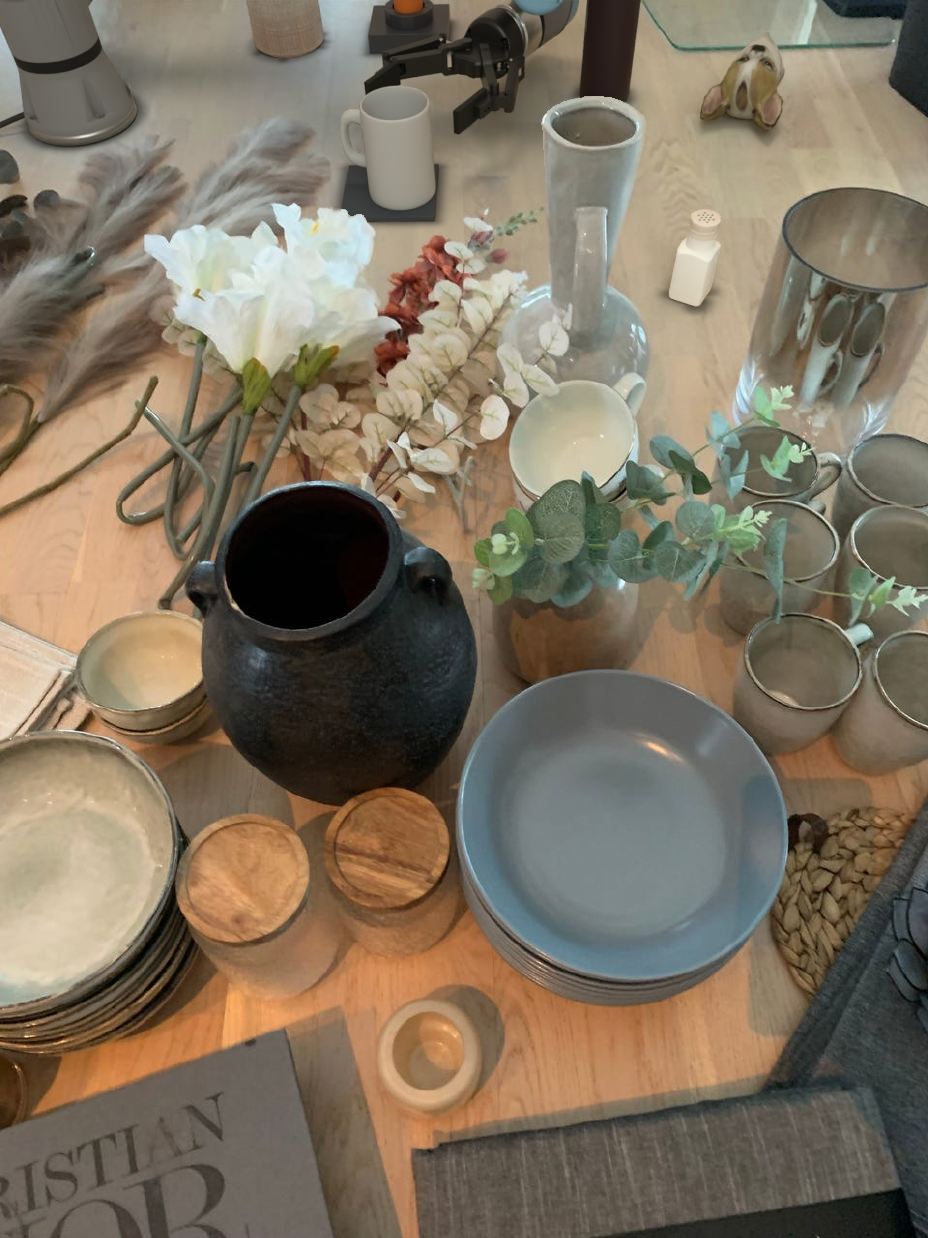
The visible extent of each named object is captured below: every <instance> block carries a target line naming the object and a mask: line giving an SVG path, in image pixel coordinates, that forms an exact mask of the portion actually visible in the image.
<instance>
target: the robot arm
mask: <svg viewBox="0 0 928 1238" xmlns="http://www.w3.org/2000/svg"><path fill="white" fill-rule="evenodd" d="M93 1H94V0H0V31H1V33H2V35H3V37H4V40H5V43H6V45H7V47H8V49H9V51H10V54H11V56H12V59H13V60H14V63H15V66H16V67H17V70H18V77H19V85H20V94H21V102H22V109H23V111H22V112H20V113H17V114H15V115H12V116H10V117H7V118H6V119H3V120H1V121H0V129H3V128H5V127H7V126H9V125H12V124H14V123H16V122H18V121H21V120H24V119H25V122H26V125H27V128H28V129H29V131H30V133H31V135H32V136H33V137H34V138H35V139H37V140H38V141H40V142H42V143H45V144H49V145H53V146H60V147H61V146H62V147H74V146H76V147H77V146H85V145H89V144H93V143H98V142H102V141H104V140H107V139H109V138H112V137H113V136H116V135H119V133H121V132H122V131H124V130H125V129H127V128H128V127H129V126H130V125H131V124H132V123H133V121H134V120H135V118H136V117H137V114H138V107H137V104H136V102H135V101H136V100H135V97H134V96H133V92H132V87H131V84H130V80H129V79H127V82H128V85H127V83H126V81H125V80H124V78H123V77H122V76H121V74H120V72H118V70H117V68H116V67H115V65H114V64H113V62H112V61H111V60H110V58H109V57H108V55H107V54H106V52H105V50H104V48H103V45H102V42H101V39H100V36H99V33H98V30H97V28H96V24H95V21H94V19H93V16H92V13H91V10H90V5H91V4H92V3H93ZM579 5H580V0H499V1H497V2H496V3H495V4H493V5H492V6H490V7H489V9H487V10H486V11H485V12H482V13H481V14H480V15H479V16H478V17H476V18H475V19H473V20H472V21H471V23H470V24H469V25H468V26H467V29H466V31H465V33H464V34H463V37H461V38H459V39H455V40H453V41H450V40H449V41H447V40H446V33H444V32H439V33H437V34H435V35H434V36H432V37H430V38H427V39H424V40H420V41H417V42H414V43H410V44H407V45H403V46H400V47H397V48H393V49H390V50H386V51H383V52H382V54H381V62H382V67H381V68H379V69H378V70H376V71H375V73H374V74H373V75H372V76H371V77H369V78H368V79H366V80H365V81H364V82H363V85H364V94H365V95H364V97H365V96H366V95H367V94H368V93H370V92H372V91H374V90H377V89H380V88H383V87H389V86H402V80H408V79H413V78H420V77H426V76H432V75H438V74H442V75H443V77H450V76H455V75H460V76H466V77H468V78H469V79H473V80H475V79H480V82H481V85H482V87H480V89H477V91H475V92H474V93H473V94H472V95H471V96H469V97H468V98H467V99H466V100H465V101H463V102H462V103H460V105H458V106H457V107H456V108H454V109H453V110H452V119H453V120H452V121H453V134H454V135H457V136H460V135H461V134H462V133H463V132H464V131H466V130H467V129H468V128H469V127H471V126H472V125H473V124H474V123H475V122H477V121H478V120H483V119H485V118H486V117H487V116H488V115H490V114H492V112H498V111H499V110H500V109H503V112H504V113H506V114H512V113H514V110H515V105H516V100H517V94H518V90H519V89H518V88H519V85H520V83H521V82H522V81H523V80H524V79H525V77H526V76H525V75H526V74H525V72H526V71H525V70H526V59H527V58H528V57H530V56H531V55H532V54H533V53H535V52H537V50H539V49H540V48H542V47H543V46H544V45H545V44H547V43H548V42H549V41H551V40H552V39H554V38H555V37H557V36H558V35H560V34H562V32H563V31H564V30H565V28H566V27H567V26H568V25H569V24H570V23H571V22H572V21H573V19H574V18H575V16H576V14H577V12H578V9H579ZM448 54H450V64H451V66H449V63H448V60H449V59H448ZM505 76H506V79H505V85H504V90H503V91H500V82H499V81H498V80H501V79H502V78H504V77H505Z"/></svg>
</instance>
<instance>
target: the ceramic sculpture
mask: <svg viewBox="0 0 928 1238" xmlns="http://www.w3.org/2000/svg"><path fill="white" fill-rule="evenodd" d="M785 72H786V70H785V67H784V62H783V57H782V54H781V52H780V50H779V47H778V45H777V44H776V42H775V41H774V40H773V39H772V37H771V34H770V32H769V31H767V32H764V34H763V35H762V36H760V37H758V38H756V39H754V40H753V41H750V42H749V43H748V44H747V45H746V47H744V48H743V49H741V51H740V52H739V53H738V55H737V56H736V57H735V58H734V59H733V60H732V61H731V63H730V66H729V67H728V68H727V71H726V73H725V75H724V76H723V78H722V80H721V82H720V83H719V84H715V85H713V86H711V87H710V88H709V89H708V92H707V93H706V94H705V95H704V97H703V100H702V104H701V109H700V112H699V118H700V120H702V121H710V120H711V121H712V120H716V119H719V118H720V117H723V115H724V114H725V112H726V113H727V114H728V115H729V116H730V117H732V118H737V119H743V120H754V122H755V124H756V125H757V126H758V127H760V128H761V129H762V130H765V131H771V130H772V129H773V128H775V126H776V125H777V123H779V122H778V121H779V119H780V117H781V115H782V113H783V105H784V100H783V97H782V95H781V94H780V93H779V92H778V87H779V86H780V84H781V83H782V81H783V79H784V76H785V74H786V73H785Z"/></svg>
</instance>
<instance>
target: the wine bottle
mask: <svg viewBox="0 0 928 1238" xmlns="http://www.w3.org/2000/svg"><path fill="white" fill-rule="evenodd" d="M641 1H642V0H586V4H585V5H586V6H585V16H584V17H585V18H584V31H583V41H582V42H583V43H582V44H583V45H582V56H581V67H580V81H579V96H580V98H581V97H584V96H604V97H612V98H615V99H618V100H621V101H623V102H624V103H626V101H627V100H628V97H629V95H630V89H631V81H632V74H633V65H634V58H635V50H636V42H637V33H638V27H639V26H638V25H639V18H640V11H641V3H642V2H641Z"/></svg>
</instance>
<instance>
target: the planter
mask: <svg viewBox="0 0 928 1238" xmlns="http://www.w3.org/2000/svg"><path fill="white" fill-rule="evenodd" d="M245 1H246V6H247V12H248V16H249V23H250V27H251V32H252V38H253V41H254V42H253V43H254V46H255V47H256V49H258V50H259V51H260V52H261V53H263V54H265V55H267V56H269V57H273V58H278V59H290V58H297V57H302V56H305V55H307V54H310V53H312V52H314V51H315V50H317V48H318V47H320V45H321V44H322V43H323V41H324V39H325V38H324V35H325V34H324V27H323V21H322V14H321V9H320V8H321V7H320V3H319V0H245Z"/></svg>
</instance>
